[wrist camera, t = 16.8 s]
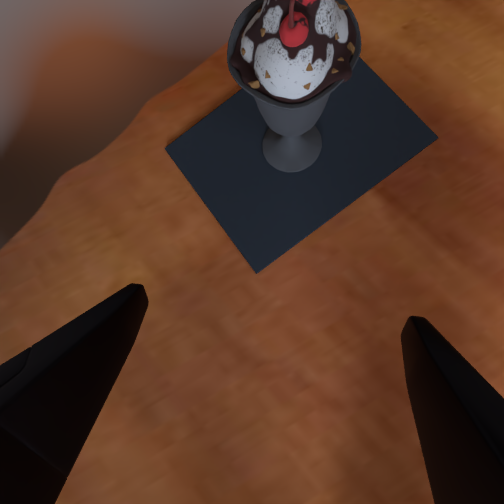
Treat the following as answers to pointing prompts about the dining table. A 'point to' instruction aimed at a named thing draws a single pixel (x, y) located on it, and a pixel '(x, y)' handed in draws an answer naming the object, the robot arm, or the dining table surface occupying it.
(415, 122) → the dark blue rectangular panel
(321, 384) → the dining table surface
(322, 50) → the sundae
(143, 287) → the robot arm
